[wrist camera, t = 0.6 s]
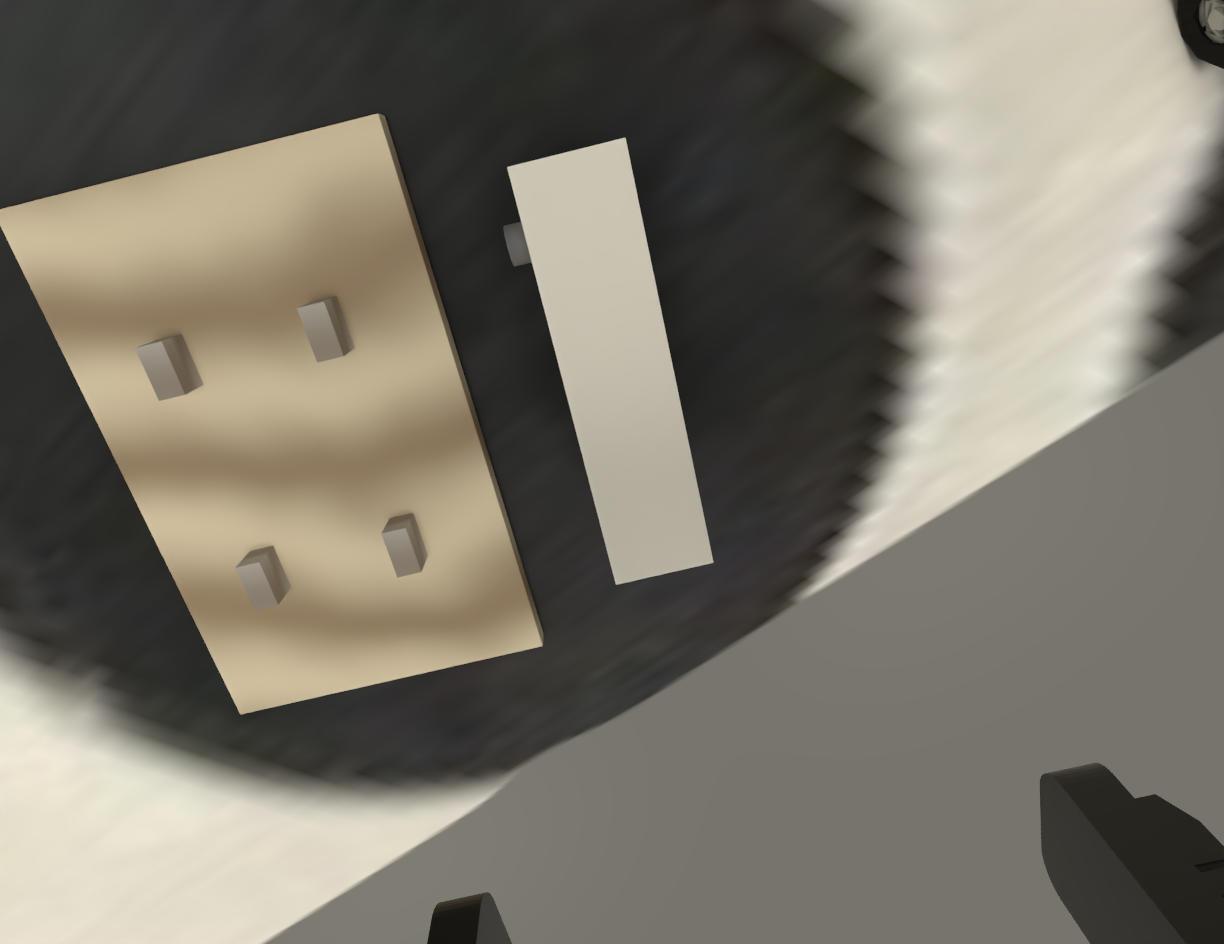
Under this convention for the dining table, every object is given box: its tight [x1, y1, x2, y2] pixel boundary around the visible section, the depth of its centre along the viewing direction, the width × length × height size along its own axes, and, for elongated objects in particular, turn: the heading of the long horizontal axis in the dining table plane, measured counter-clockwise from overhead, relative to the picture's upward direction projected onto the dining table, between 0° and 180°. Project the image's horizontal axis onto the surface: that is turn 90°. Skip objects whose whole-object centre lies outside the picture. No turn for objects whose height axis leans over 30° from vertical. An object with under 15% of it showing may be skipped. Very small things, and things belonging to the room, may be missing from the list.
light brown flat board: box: [0, 114, 544, 714], centre depth 30 cm, size 22×14×2 cm, turn 13°
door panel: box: [503, 138, 713, 585], centre depth 26 cm, size 12×4×10 cm, turn 13°
